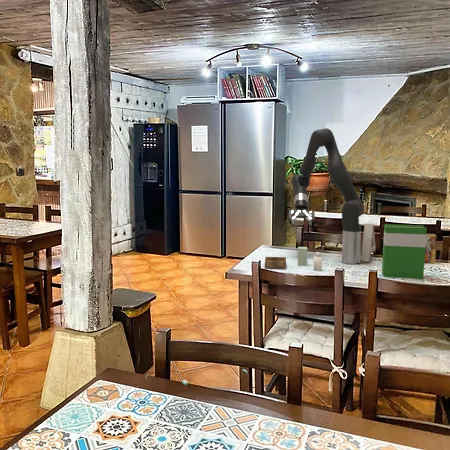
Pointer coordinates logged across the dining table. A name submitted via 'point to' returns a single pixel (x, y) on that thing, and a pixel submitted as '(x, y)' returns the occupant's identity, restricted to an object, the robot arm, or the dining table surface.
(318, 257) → the salt shaker
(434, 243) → the candy box
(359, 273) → the dining table surface
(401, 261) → the hardback book
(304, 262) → the sage block
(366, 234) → the wall bracket
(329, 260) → the dining table surface
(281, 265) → the walnut caddy
